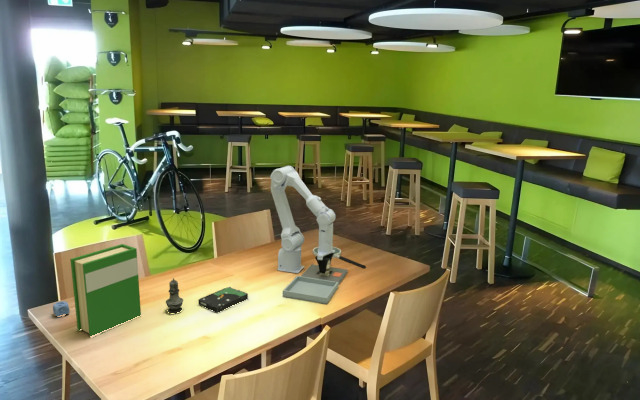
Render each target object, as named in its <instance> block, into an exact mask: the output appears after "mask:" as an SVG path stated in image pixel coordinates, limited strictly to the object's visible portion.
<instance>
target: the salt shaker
mask: <svg viewBox="0 0 640 400" xmlns="http://www.w3.org/2000/svg"><path fill="white" fill-rule="evenodd" d="M179 292H180V289H179V282H178V281H177V280H176V279H175V278H174V277H173V278H172V280H170V281H169V289H168V293H169V298H168V299H166V300H165V304H166V306H167V308H168V309H167V310H168V312H169V313H177V312H180V311H181V310H182V308H183V307H182V305H183V302H184V299H183V297H180V295H179ZM168 312H167V313H168ZM169 313H168V314H169ZM180 313H181V312H180Z"/></svg>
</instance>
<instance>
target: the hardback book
mask: <svg viewBox="0 0 640 400" xmlns="http://www.w3.org/2000/svg"><path fill="white" fill-rule="evenodd" d="M138 265H139V264H138V251H137V248H136V247H134V246H130V245H127V244H124V243H120V244H117V245H114V246H110V247H107V248H104V249H100V250H97V251H96V250H95V251H92V252H89V253H86V254H82V255H79V256H76V257H72V258H70V267H71V278H72V279H71V280H72V289H73V290H72V291H73V299H74V307H75V317H76V319H75V320H76V327H77V330H78V329H79V330H80V329H82V330H83V331H84V332H86V333H88V336H89V335H90V336H92V335H95V334H97V333H100V332H102V331H104V330H107V329H109V328H112V327H114V326H116V325H118V324H121V323H124V322H126V321H128V320H131V319H133V318H135V317H137V316H140V315H141V316H142V310H141V308H142V307H141V296H140V293H141V292H140V282H139V279H140V278H139V266H138ZM141 316H140V317H141ZM131 321H132V320H131ZM90 336H89V337H90Z"/></svg>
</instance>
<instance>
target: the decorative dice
mask: <svg viewBox="0 0 640 400" xmlns="http://www.w3.org/2000/svg"><path fill="white" fill-rule="evenodd" d="M52 311H53V315H54V314H55V315H56V316H60V315H63V314H68V313H69V314H70V306H69V303H68V302H67V301H65V300H64V301H61V300H60V301H57V302H56V303H54V304H53V305H52ZM69 314H68V315H69ZM55 315H54V316H55Z"/></svg>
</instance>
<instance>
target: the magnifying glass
mask: <svg viewBox="0 0 640 400" xmlns="http://www.w3.org/2000/svg"><path fill="white" fill-rule="evenodd" d="M333 250H335V253H334V255H333V257H332V259H333V258H336V259H339V260H341V261H344V262H347V263H349V264H350V265H354V266H355V267H356V266H357V267H359V268H360V269H361V268H362V269H366V267H367V266H366V265H364V264H363V263H359V262H357V261H355V260H352V259H349V258H347V257H345V256H342V250H341V248H338V247H336V246H333ZM312 254H313V256H315V257H316V256H318V246H317V247H316V246H315V247H314V248H313V249H312Z"/></svg>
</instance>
